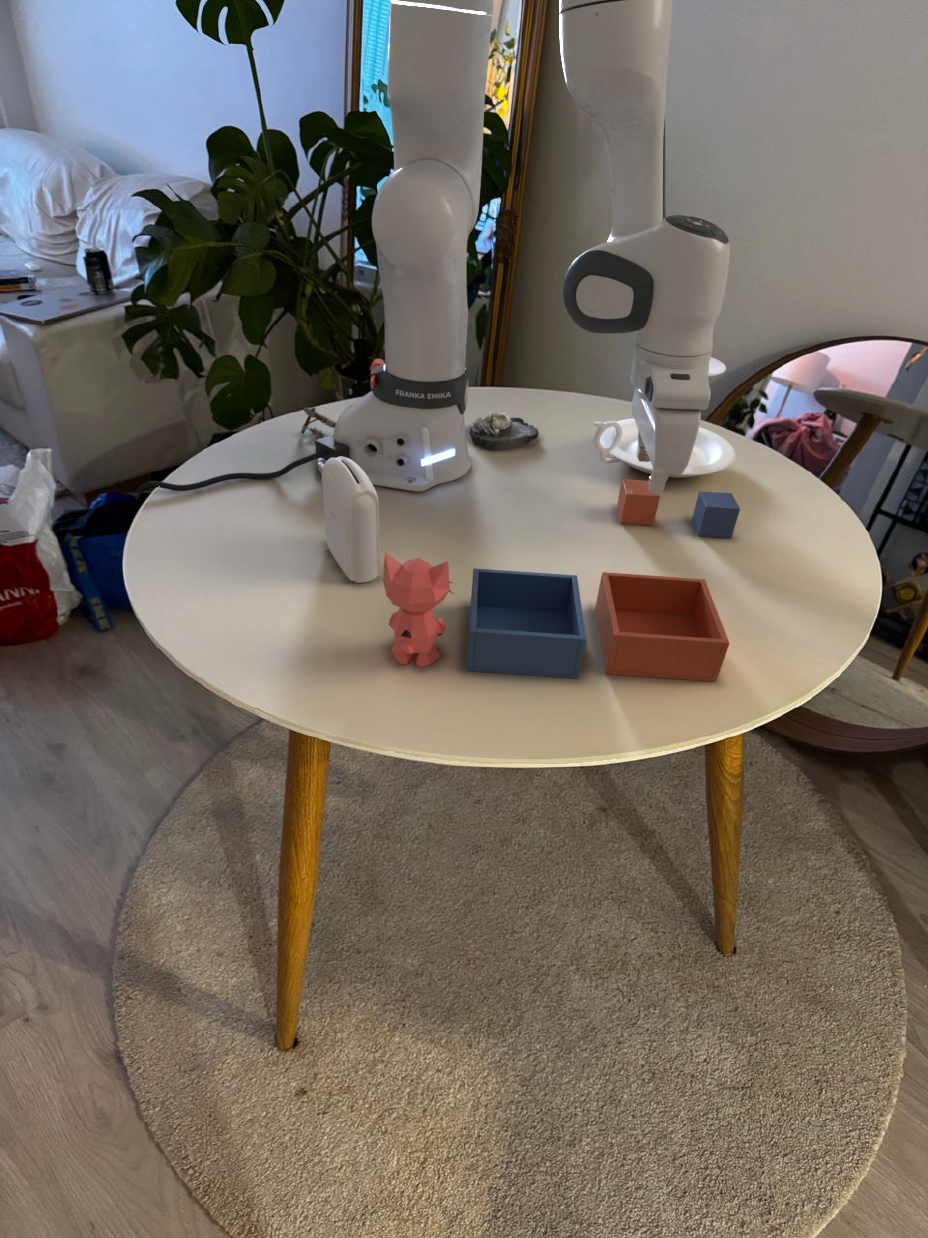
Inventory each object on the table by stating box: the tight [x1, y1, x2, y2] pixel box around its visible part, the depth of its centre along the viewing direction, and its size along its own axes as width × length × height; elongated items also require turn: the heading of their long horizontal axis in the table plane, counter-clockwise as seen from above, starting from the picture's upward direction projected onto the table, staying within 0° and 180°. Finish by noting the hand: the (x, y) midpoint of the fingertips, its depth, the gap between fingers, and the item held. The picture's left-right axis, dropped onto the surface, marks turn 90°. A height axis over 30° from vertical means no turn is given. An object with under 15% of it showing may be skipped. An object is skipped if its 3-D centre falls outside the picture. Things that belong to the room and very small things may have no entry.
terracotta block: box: [616, 478, 661, 527], centre depth 102 cm, size 4×4×4 cm
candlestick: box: [593, 356, 737, 478], centre depth 108 cm, size 21×25×28 cm
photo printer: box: [321, 456, 381, 583], centre depth 86 cm, size 10×4×12 cm, turn 26°
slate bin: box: [466, 567, 587, 679], centre depth 78 cm, size 11×11×5 cm
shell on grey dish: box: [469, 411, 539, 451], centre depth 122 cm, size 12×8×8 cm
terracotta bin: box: [594, 571, 730, 683], centre depth 79 cm, size 11×11×5 cm
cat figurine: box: [382, 552, 456, 668], centre depth 73 cm, size 7×7×12 cm
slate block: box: [691, 490, 741, 539], centre depth 100 cm, size 4×4×4 cm
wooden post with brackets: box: [300, 406, 337, 438], centre depth 118 cm, size 2×8×4 cm, turn 89°
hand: (648, 475), depth 99 cm, fingers open, 8 cm apart
